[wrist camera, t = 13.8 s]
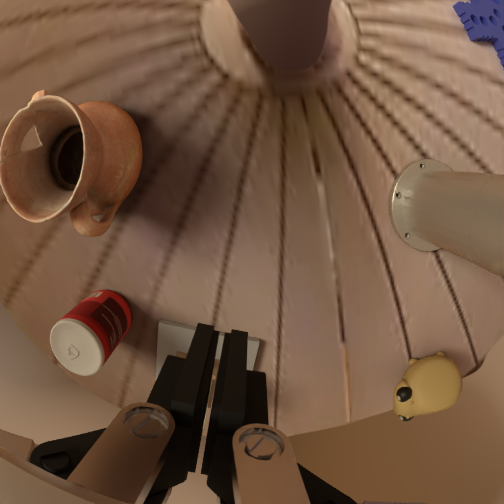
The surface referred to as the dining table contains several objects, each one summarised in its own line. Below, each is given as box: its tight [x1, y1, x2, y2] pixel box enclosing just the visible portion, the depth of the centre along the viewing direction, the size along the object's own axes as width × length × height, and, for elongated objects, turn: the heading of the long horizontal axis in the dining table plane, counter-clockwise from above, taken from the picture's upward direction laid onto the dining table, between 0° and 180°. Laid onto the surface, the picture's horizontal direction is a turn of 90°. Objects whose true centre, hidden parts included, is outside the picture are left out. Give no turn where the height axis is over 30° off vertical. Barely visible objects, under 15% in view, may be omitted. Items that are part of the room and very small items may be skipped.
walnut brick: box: [176, 351, 219, 408], centre depth 41 cm, size 6×6×4 cm
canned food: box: [50, 290, 131, 376], centre depth 36 cm, size 8×8×11 cm
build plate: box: [156, 320, 260, 400], centre depth 43 cm, size 14×12×1 cm
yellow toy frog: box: [393, 352, 462, 421], centre depth 39 cm, size 10×12×11 cm
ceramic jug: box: [0, 90, 143, 237], centre depth 30 cm, size 18×14×14 cm
